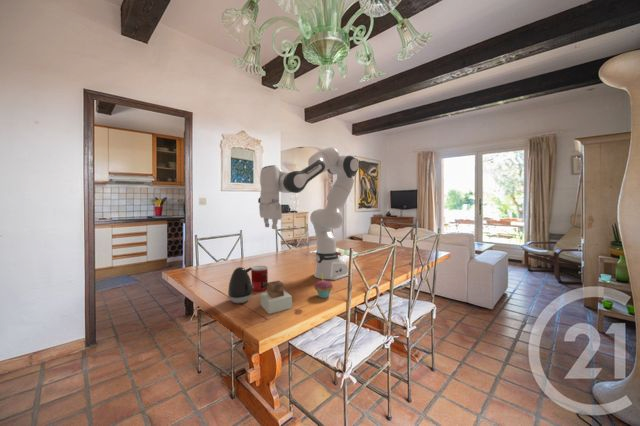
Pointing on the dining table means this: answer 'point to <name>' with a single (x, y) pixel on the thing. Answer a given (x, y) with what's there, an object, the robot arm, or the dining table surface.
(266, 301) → the pedestal
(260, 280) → the canned food
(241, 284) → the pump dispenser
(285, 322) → the dining table surface
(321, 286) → the cupcake
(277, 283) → the walnut cube
